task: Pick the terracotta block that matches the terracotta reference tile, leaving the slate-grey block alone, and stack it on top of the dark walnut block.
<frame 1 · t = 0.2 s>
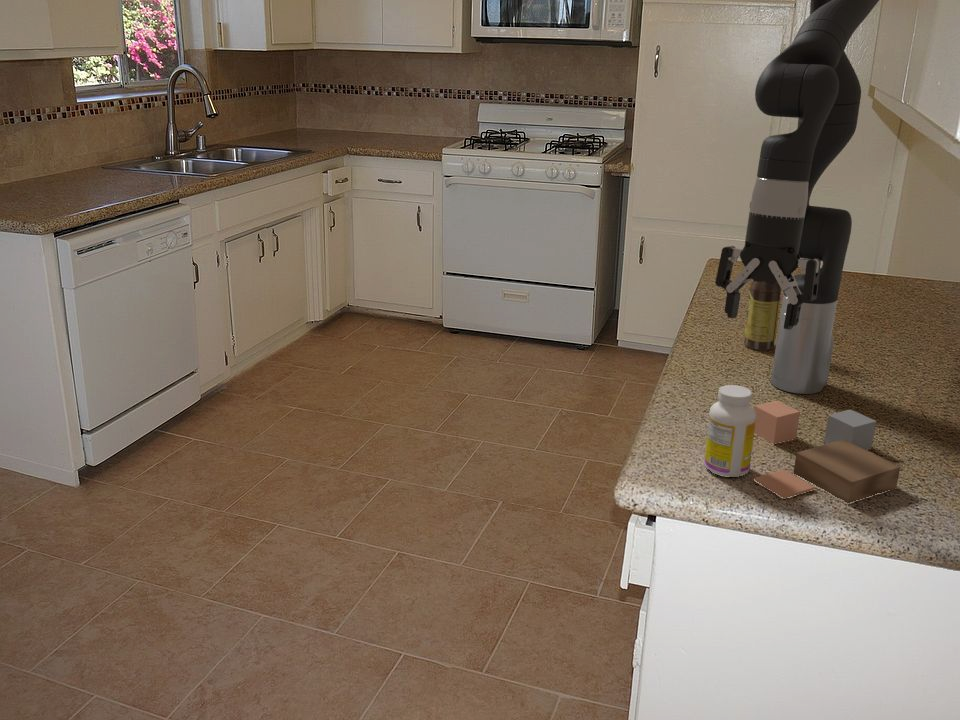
hand: (759, 322, 128), 22 cm above the counter, tool pointing down, fingers open, 8 cm apart
sauce bottle: (758, 347, 182), on the counter
reference tile: (783, 486, 127), on the counter
supplement bottle: (725, 470, 132), on the counter
walnut block: (843, 483, 128), on the counter
grey block: (847, 446, 139), on the counter
terracotta block: (772, 436, 142), on the counter
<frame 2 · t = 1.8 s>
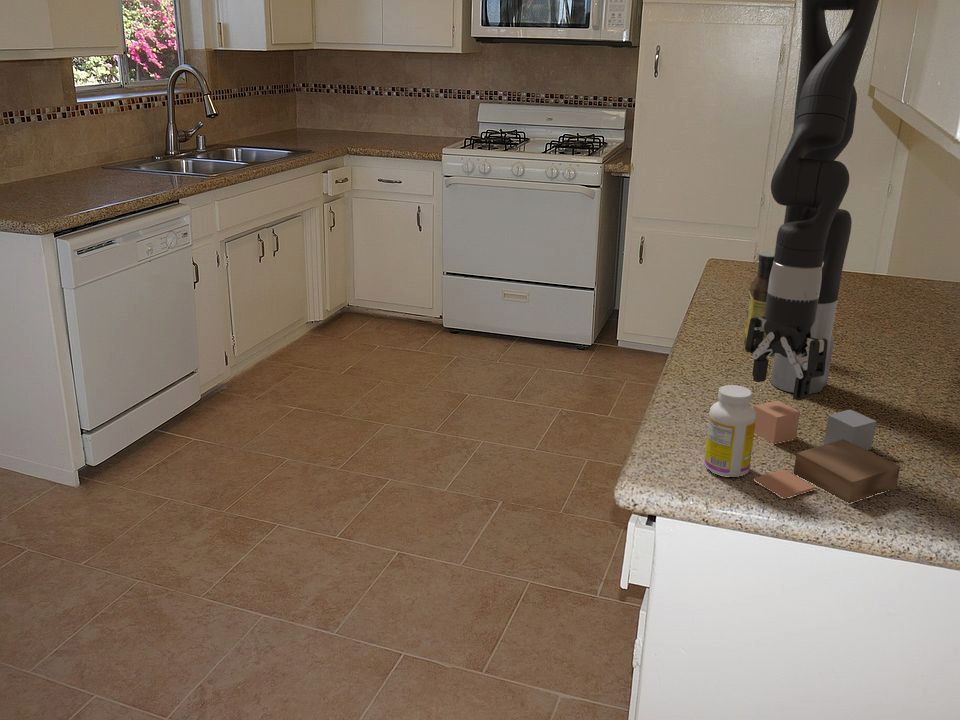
hand: (778, 389, 139), 8 cm above the counter, tool pointing down, fingers open, 8 cm apart
nothing on the counter moved.
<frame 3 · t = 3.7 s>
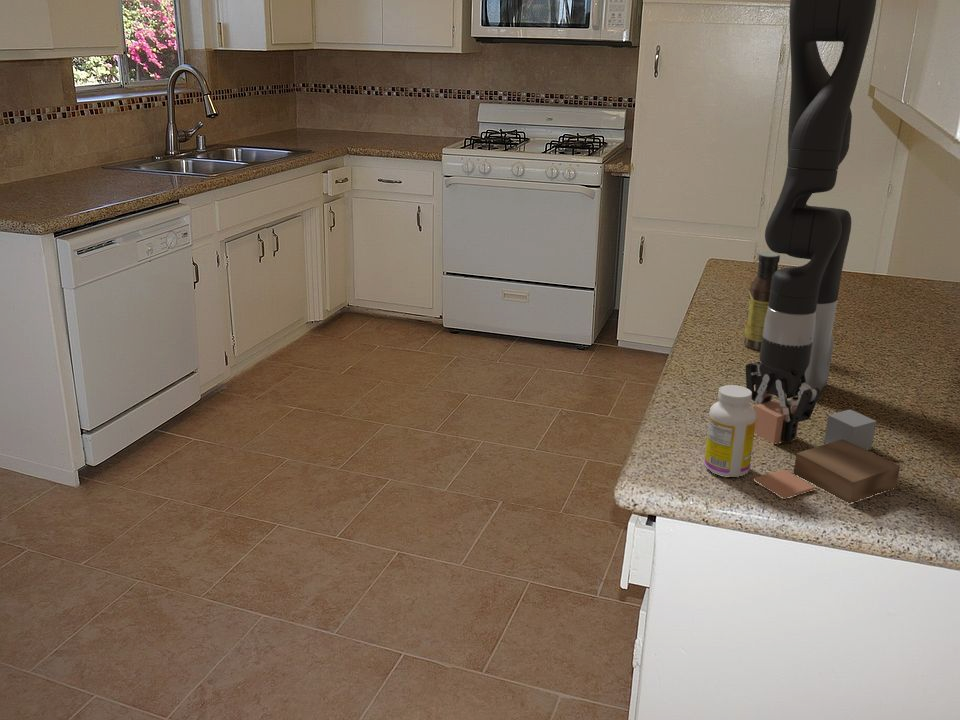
hand: (773, 433, 142), 0 cm above the counter, tool pointing down, fingers closed on terracotta block, 5 cm apart
terracotta block: (773, 436, 142), on the counter, touching gripper
everything else where it was.
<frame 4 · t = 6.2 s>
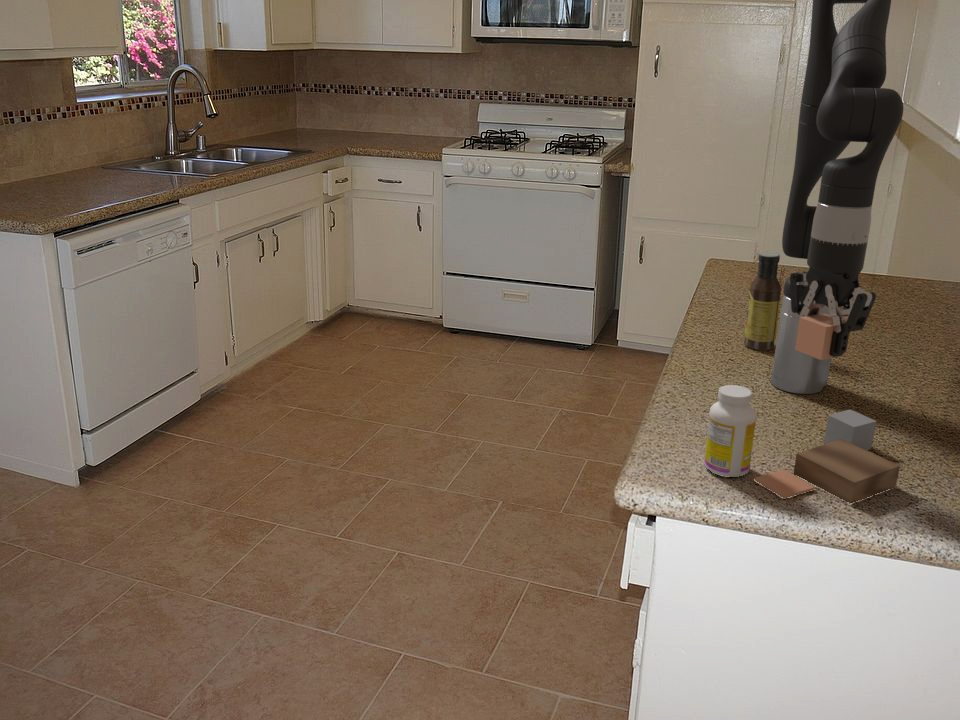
hand: (821, 349, 129), 18 cm above the counter, tool pointing down, fingers closed on terracotta block, 5 cm apart
terracotta block: (820, 352, 129), point 18 cm above the counter, touching gripper
everything else where it was.
when the fingers open (6 cm above the counter, at t = 9.2 s): terracotta block drops 2 cm, point 4 cm above the counter.
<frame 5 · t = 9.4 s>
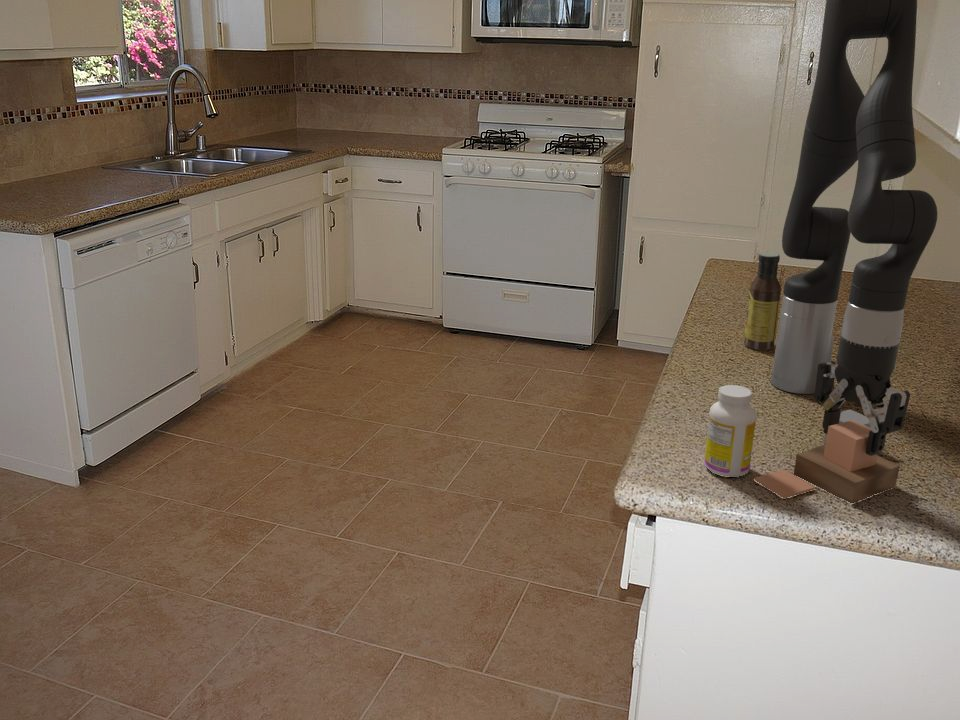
hand: (850, 443, 126), 6 cm above the counter, tool pointing down, fingers open, 7 cm apart
terracotta block: (849, 460, 127), point 4 cm above the counter
everything else where it was.
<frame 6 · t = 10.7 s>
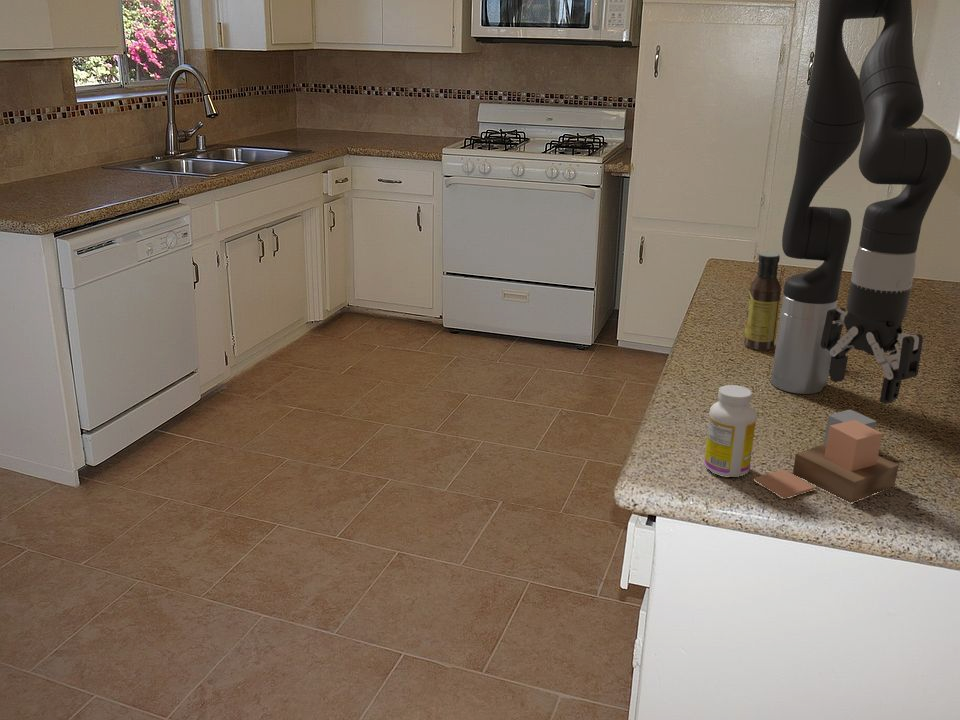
hand: (860, 391, 123), 14 cm above the counter, tool pointing down, fingers open, 8 cm apart
walnut block: (842, 483, 129), on the counter, touching terracotta block
terracotta block: (850, 460, 127), point 4 cm above the counter, touching walnut block
everything else where it was.
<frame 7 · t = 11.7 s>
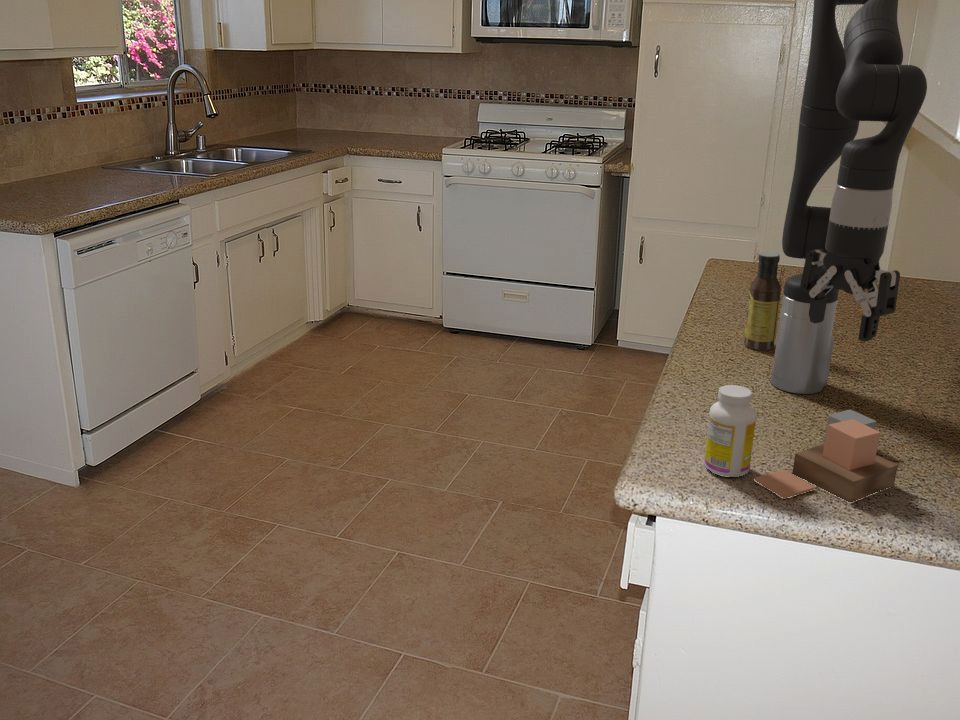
hand: (840, 330, 125), 22 cm above the counter, tool pointing down, fingers open, 8 cm apart
walnut block: (841, 483, 129), on the counter
terracotta block: (848, 459, 127), point 4 cm above the counter
everything else where it was.
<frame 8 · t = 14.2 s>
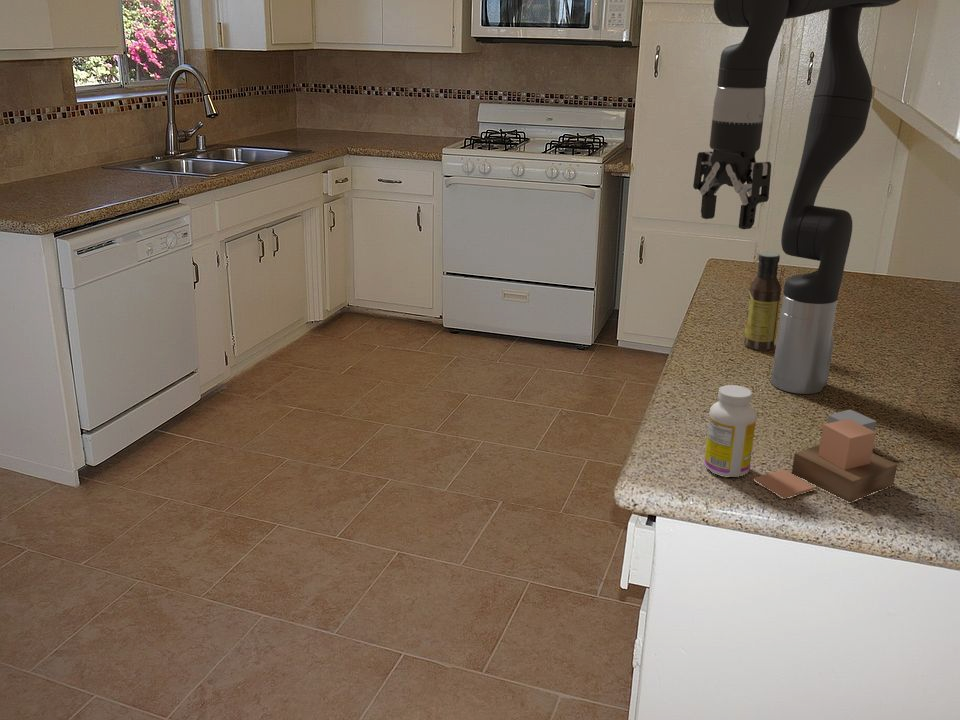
hand: (725, 223, 139), 33 cm above the counter, tool pointing down, fingers open, 8 cm apart
walnut block: (841, 482, 129), on the counter, touching terracotta block
terracotta block: (843, 459, 127), point 4 cm above the counter, touching walnut block
everything else where it was.
at the end: terracotta block 0.4 cm off-centre on the walnut block, point 4.0 cm above the walnut block's base; terracotta block tilted 1°; grey block moved 0.1 cm from its start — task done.
